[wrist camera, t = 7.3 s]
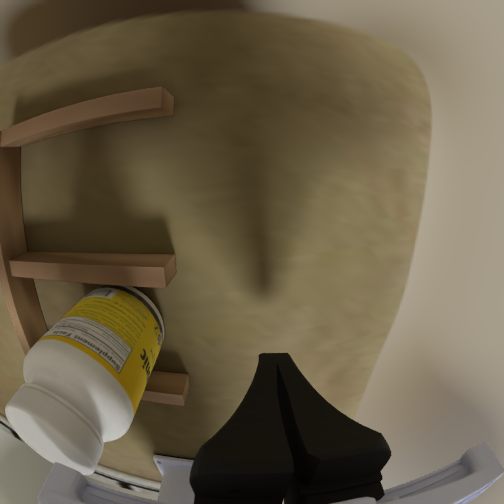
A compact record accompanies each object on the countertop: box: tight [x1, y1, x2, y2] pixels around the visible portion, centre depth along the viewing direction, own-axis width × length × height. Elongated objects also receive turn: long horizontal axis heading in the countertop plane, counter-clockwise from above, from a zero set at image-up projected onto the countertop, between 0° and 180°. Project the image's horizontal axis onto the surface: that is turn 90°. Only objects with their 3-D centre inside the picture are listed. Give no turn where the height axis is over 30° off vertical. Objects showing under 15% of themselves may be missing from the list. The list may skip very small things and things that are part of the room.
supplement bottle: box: [5, 284, 164, 475], centre depth 10 cm, size 5×5×10 cm
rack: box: [0, 86, 190, 406], centre depth 13 cm, size 17×12×2 cm
